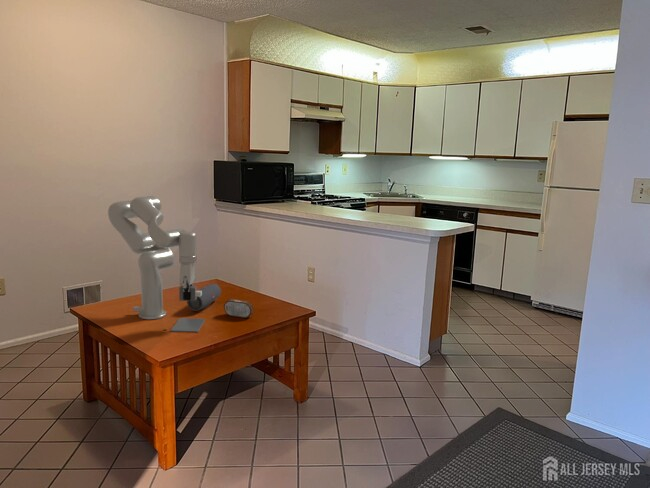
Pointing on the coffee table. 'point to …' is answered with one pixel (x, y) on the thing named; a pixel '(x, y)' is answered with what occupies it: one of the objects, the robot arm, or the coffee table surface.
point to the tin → (238, 308)
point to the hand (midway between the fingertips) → (188, 298)
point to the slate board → (187, 325)
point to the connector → (193, 293)
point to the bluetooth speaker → (205, 297)
